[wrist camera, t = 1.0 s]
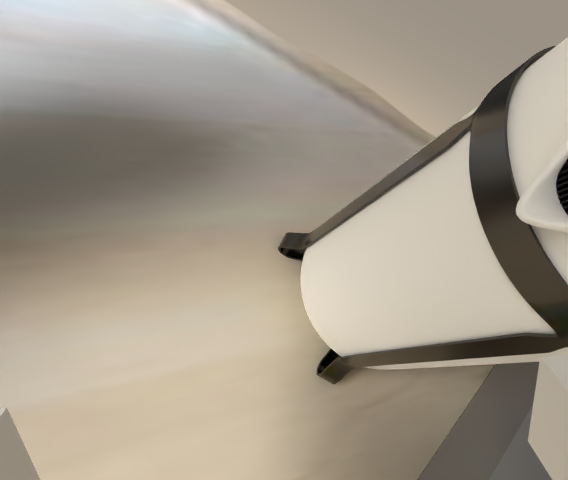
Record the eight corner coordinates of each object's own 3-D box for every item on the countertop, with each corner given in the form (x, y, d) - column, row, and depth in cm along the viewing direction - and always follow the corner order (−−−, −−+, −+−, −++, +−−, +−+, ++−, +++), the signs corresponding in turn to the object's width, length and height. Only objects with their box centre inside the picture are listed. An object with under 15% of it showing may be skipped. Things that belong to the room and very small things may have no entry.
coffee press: (406, 439, 33) (1626, 659, 7) (230, 317, 31) (936, -84, 5) (476, 258, 41) (1175, 14, 14) (338, 150, 39) (843, -369, 12)
